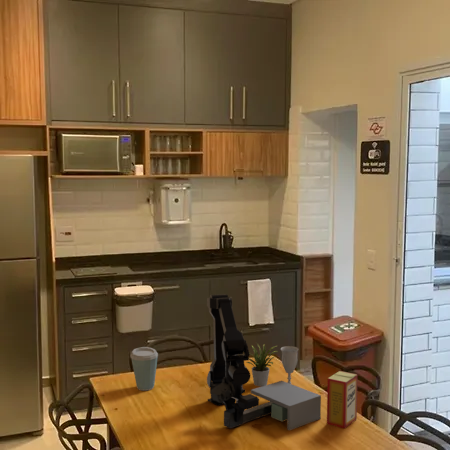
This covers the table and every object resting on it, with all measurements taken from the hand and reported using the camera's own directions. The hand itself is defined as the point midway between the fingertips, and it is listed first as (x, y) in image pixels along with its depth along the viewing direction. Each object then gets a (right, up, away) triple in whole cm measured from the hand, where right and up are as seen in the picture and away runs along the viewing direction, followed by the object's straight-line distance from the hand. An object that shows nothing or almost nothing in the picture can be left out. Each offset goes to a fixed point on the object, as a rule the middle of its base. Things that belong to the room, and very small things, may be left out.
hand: (233, 420), depth 205 cm
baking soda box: (+37, -2, +4) cm, 37 cm away
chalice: (+21, 0, +28) cm, 35 cm away
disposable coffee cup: (-34, +1, +35) cm, 49 cm away
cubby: (+18, -1, +9) cm, 20 cm away
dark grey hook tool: (+9, -1, +4) cm, 10 cm away
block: (+17, -1, +8) cm, 18 cm away
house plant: (+13, +1, +40) cm, 42 cm away
